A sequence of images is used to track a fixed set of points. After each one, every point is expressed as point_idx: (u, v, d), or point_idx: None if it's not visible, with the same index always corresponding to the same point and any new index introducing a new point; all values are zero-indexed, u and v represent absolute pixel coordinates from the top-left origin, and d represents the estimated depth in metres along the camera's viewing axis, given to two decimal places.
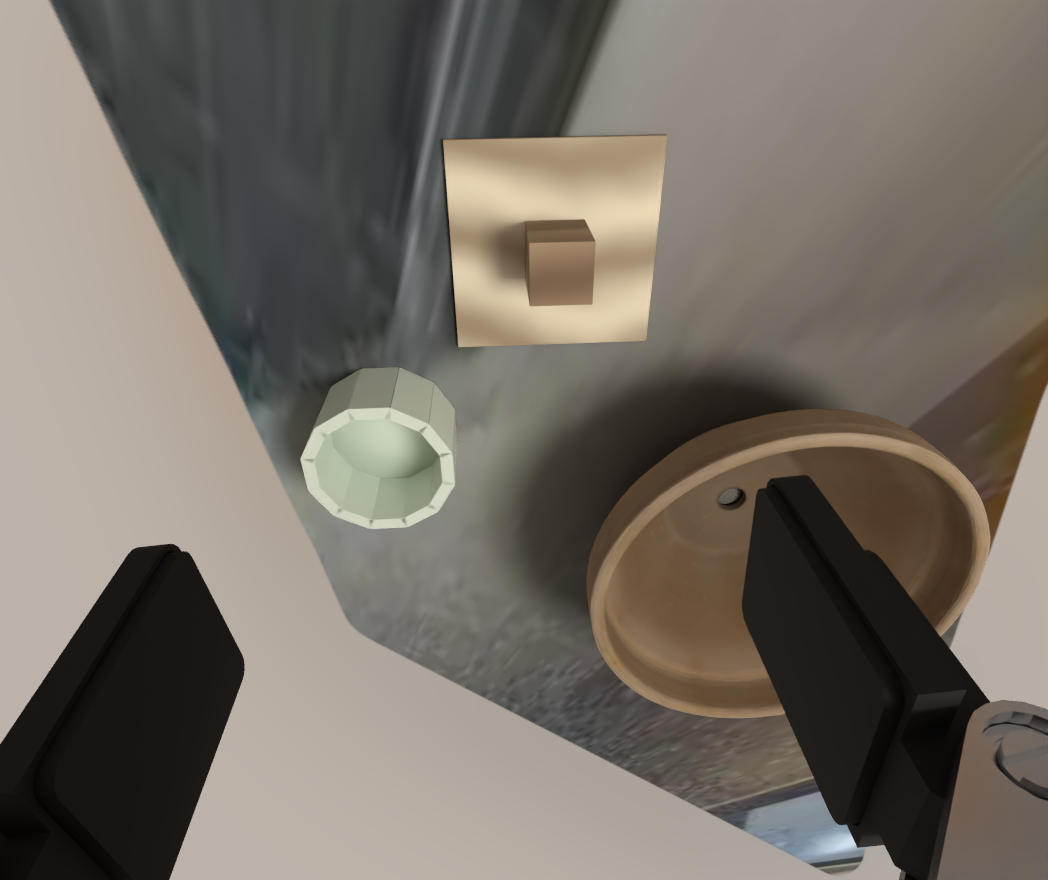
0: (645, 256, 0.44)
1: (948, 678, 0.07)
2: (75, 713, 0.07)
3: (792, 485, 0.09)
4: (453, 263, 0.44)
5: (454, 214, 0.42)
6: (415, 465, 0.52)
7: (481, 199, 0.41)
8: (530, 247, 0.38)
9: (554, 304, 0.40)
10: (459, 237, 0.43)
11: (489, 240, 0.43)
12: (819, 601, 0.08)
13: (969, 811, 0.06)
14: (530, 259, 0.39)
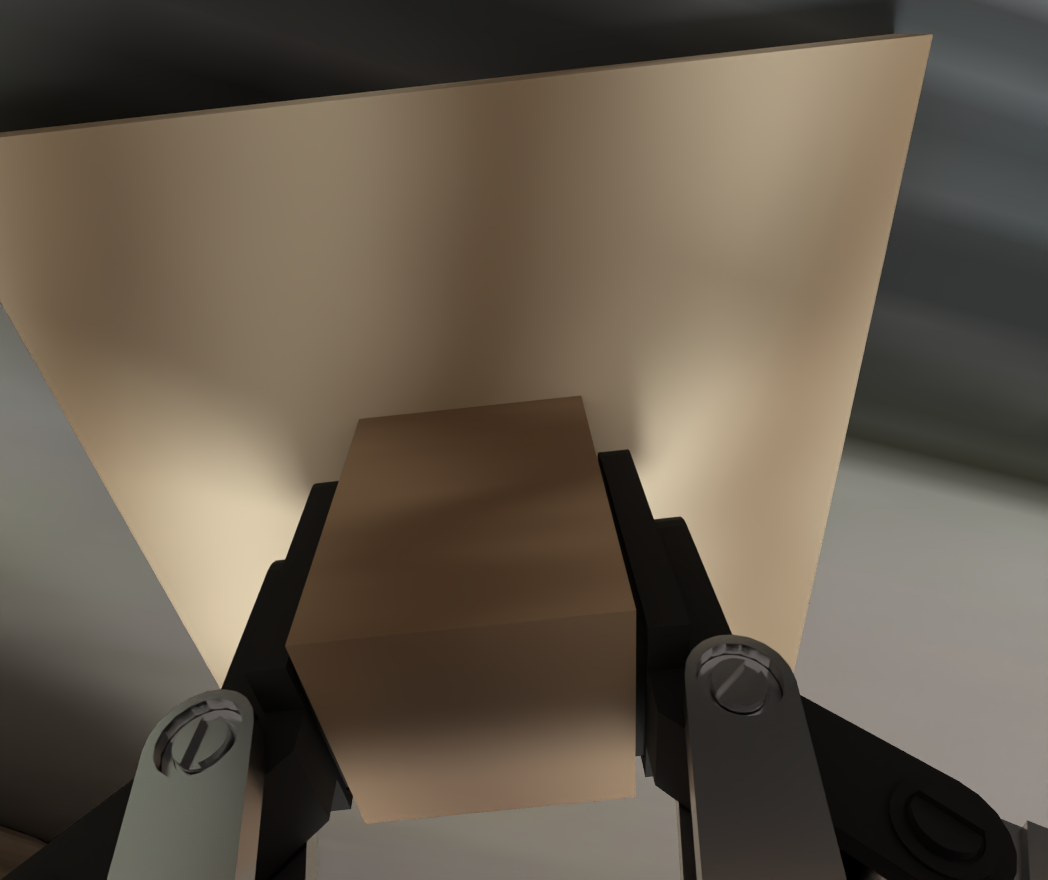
0: None
1: (679, 615, 0.08)
2: None
3: (611, 458, 0.10)
4: (367, 104, 0.09)
5: (604, 102, 0.09)
6: None
7: (664, 227, 0.10)
8: (613, 616, 0.07)
9: (327, 726, 0.08)
10: (498, 132, 0.09)
11: (495, 273, 0.10)
12: None
13: (705, 755, 0.06)
14: (548, 622, 0.07)
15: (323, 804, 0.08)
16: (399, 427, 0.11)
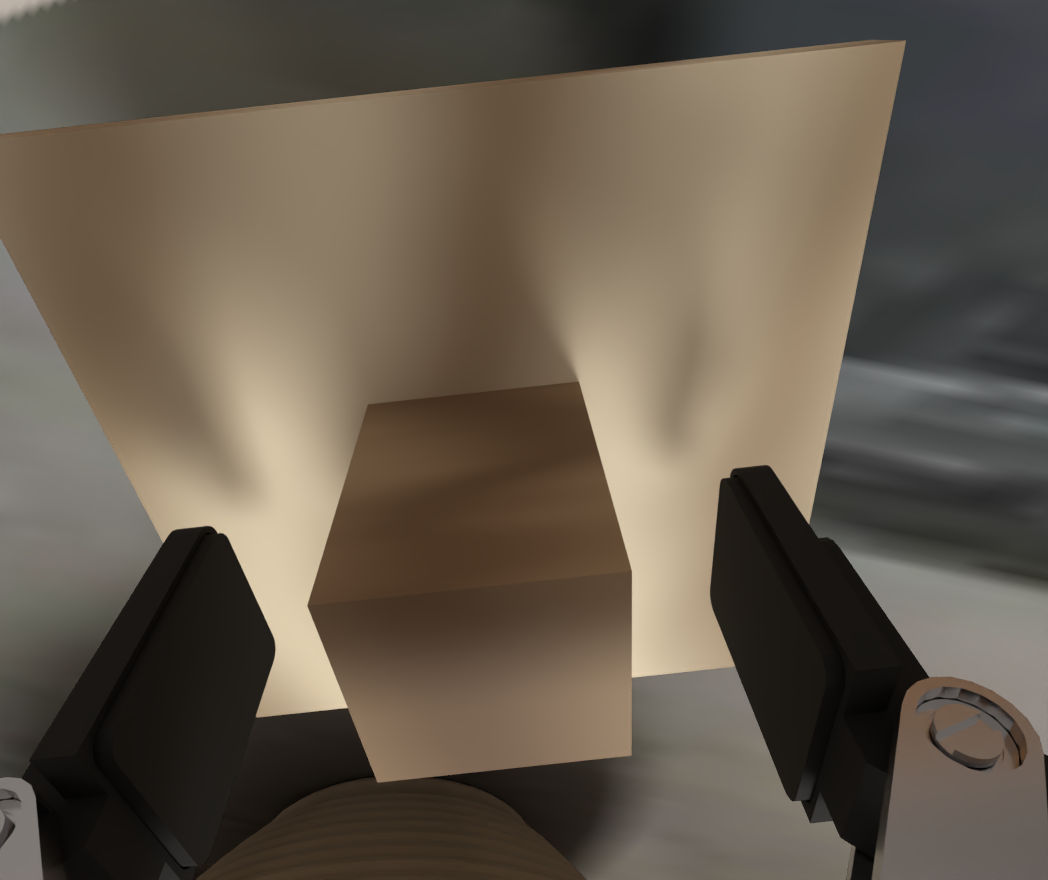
0: None
1: (886, 655, 0.07)
2: (129, 682, 0.08)
3: (753, 474, 0.10)
4: (379, 104, 0.09)
5: (601, 103, 0.09)
6: None
7: (657, 221, 0.10)
8: (610, 577, 0.08)
9: (343, 684, 0.09)
10: (501, 131, 0.10)
11: (497, 264, 0.11)
12: (773, 585, 0.08)
13: (909, 788, 0.06)
14: (551, 583, 0.08)
15: None
16: (406, 411, 0.12)
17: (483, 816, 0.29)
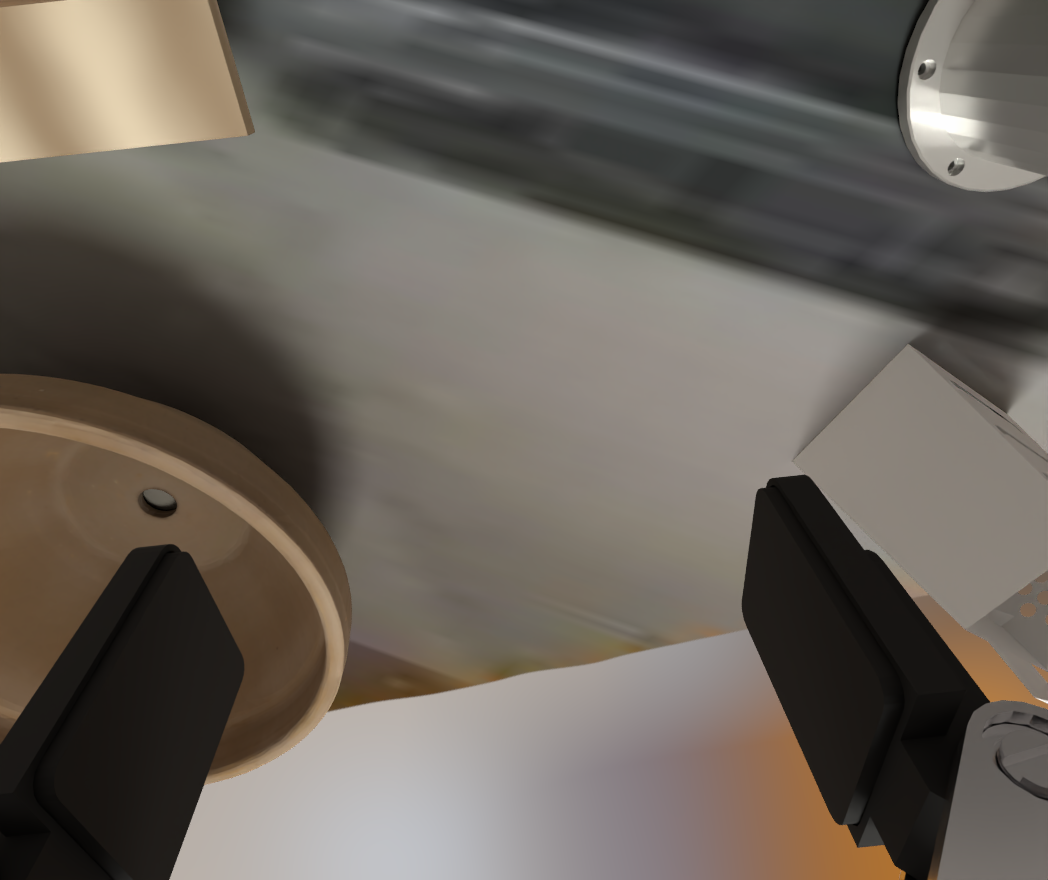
0: (54, 138, 0.26)
1: (949, 679, 0.07)
2: (75, 713, 0.07)
3: (792, 485, 0.09)
4: None
5: None
6: None
7: None
8: None
9: None
10: None
11: None
12: (819, 601, 0.08)
13: (969, 811, 0.06)
14: None
15: None
16: None
17: None
